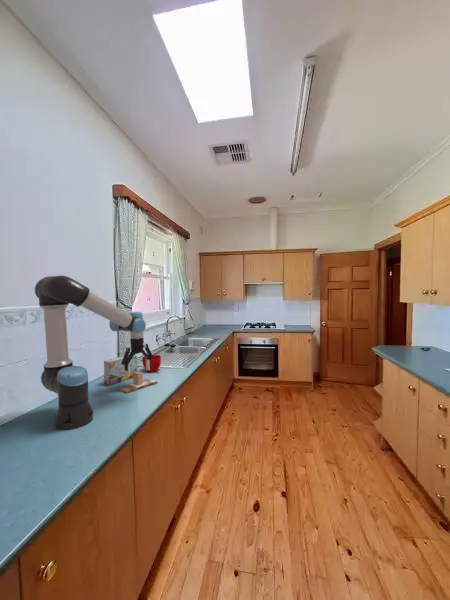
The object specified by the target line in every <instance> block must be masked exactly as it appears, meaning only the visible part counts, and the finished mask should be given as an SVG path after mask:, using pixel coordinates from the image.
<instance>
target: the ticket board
mask: <svg viewBox="0 0 450 600" xmlns="http://www.w3.org/2000/svg"><path fill="white" fill-rule="evenodd" d="M143 383H145V384H147V385H144V386H141V387H138V388H137V387H134V386H131V385H129V384H127V385H124V386H121V387H119V388H117V390H118V391H119V392H121V393H124V394H126V395H127V394H130V393H133V392H136V391H140V390H141V389H145V388H147V387H151V386H154V385H156V384H158V381H157V380H154V379H150V378H146V379H143Z"/></svg>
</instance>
